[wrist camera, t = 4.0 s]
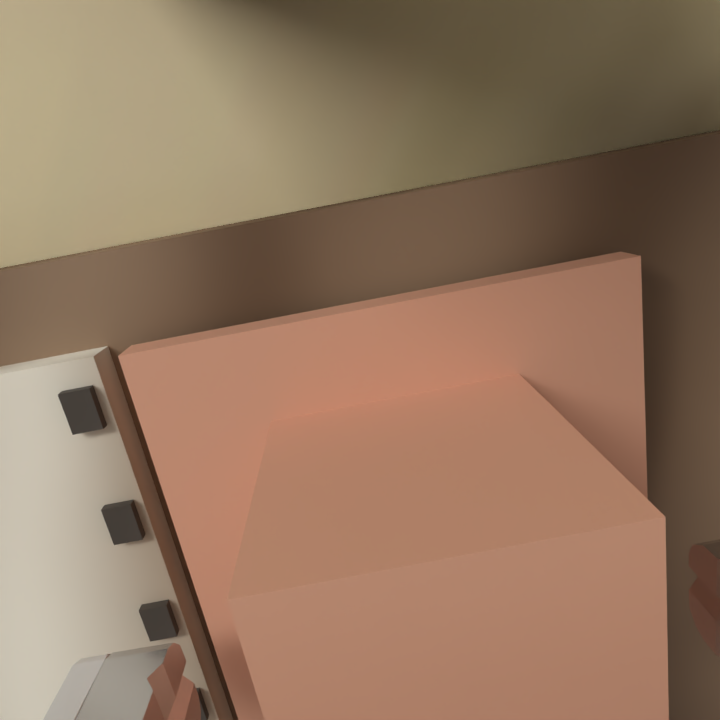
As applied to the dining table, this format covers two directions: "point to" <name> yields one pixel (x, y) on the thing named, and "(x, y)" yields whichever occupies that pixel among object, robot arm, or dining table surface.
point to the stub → (422, 500)
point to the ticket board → (302, 294)
